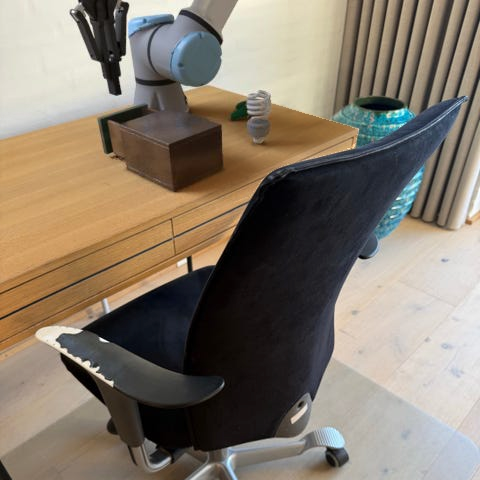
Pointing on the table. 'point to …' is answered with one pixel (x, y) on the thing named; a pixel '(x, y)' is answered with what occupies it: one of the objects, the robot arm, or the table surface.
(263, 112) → the light bulb
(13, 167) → the table surface
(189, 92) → the table surface
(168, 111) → the cabinet
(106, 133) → the drawer
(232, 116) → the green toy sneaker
